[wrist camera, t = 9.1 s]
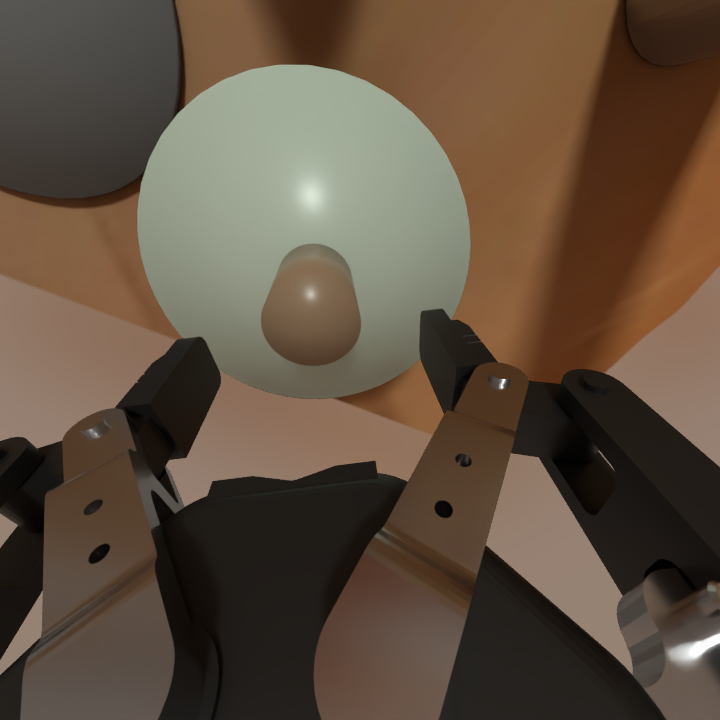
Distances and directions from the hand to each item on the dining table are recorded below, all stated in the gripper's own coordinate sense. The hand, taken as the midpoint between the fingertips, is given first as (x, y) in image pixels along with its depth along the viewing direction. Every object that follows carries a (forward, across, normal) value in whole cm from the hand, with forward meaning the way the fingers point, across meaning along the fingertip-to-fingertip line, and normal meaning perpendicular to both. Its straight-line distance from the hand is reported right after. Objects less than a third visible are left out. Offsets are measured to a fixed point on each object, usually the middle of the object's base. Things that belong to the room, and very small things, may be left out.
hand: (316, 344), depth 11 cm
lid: (+7, 0, 0) cm, 7 cm away
